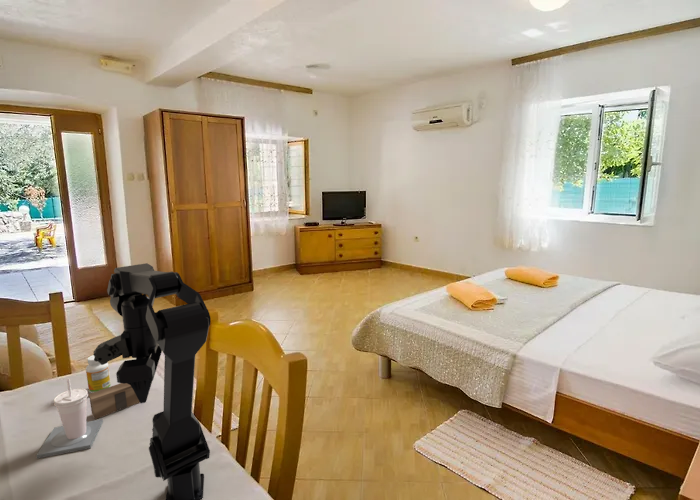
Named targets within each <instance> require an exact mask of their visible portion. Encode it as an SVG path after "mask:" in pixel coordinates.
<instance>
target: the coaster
mask: <svg viewBox="0 0 700 500" xmlns="http://www.w3.org/2000/svg"><path fill="white" fill-rule="evenodd" d="M103 424H104V420H103V419H102V418H99V419H94V420H89V421H86V433H85V434H84V435H82V436H81V437H78V438H75V439H68V438H67V436H66V433H65V430H64V427H63V425H60V426H55V427H53V429H52V430H51V432H50V433H49V435H48V437H47V438H46V440H45V441H44V443H43V444H42V445H41V447H40V449H39V450H38V452H37V453H36V459H41V458H48V457H51V456H52V457H53V456H57V455H62V454H68V453H73V452H74V453H75V452H77V451H78V452H79V451H84V450H89V449H92V446H93V445H94V442H95V440H96V438H97V436H98V433H99V432H100V429H101V428H102V425H103Z"/></svg>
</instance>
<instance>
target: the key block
mask: <svg viewBox="0 0 700 500" xmlns="http://www.w3.org/2000/svg"><path fill="white" fill-rule="evenodd" d="M87 398H88V399H89V403H90V410H91V415H92V418H93V419H94V420H99V419H101V418H103V417H105V416H107V415H111V414H113V413H115V412H119V411H122V410H124V409H126V408H129V407H131V406H135V405H137V404H141V403H140V402H139V400H138V398H137V396H136V394H135V392H134V390H133V388H132V387H131V385H129V384H127V383H126V384H123V383H117V384H114V385H111V387H108V388H105V389H102V390H99V391H96V392H93V393H91V392H89V394H88V397H87Z"/></svg>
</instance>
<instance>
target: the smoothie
mask: <svg viewBox="0 0 700 500" xmlns="http://www.w3.org/2000/svg"><path fill="white" fill-rule="evenodd" d="M66 384H67V390H66V391H63V392H60V393H59V394H58V395H56V397H54V399H53V405H54V407H56V409H57V413H58V415H59V418H60V421H61V424H62V426H63V427H64V430H65V433H66V436H67V438H68V439H75V438H78V437H81V436H82V435H84V434H85V433H86V422H87V404H88V402H87V400H88V399H87V398H89V397H88V390H87V389H85V388H72V387H71V386H72V384H71V379H70V378H66Z"/></svg>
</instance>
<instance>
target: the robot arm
mask: <svg viewBox="0 0 700 500" xmlns="http://www.w3.org/2000/svg"><path fill="white" fill-rule="evenodd" d="M113 272H114V273H111V275H110V279H109V281H108V285H107V289H106V292H107V294H108V296H110V300H109V303H110V307H111V308H112V309H113V310H114V311H115V312H116V313H117V314H118V315H119V316H121V317H122V326H123V332H122V333H121V334H119V335H117V336H115V337H112V338H110V339H108V340H106V341H103V342H101V343H100V344H99V343H98V345H97V346H96V348H95V349H94V350H93V354H92V355H94V357H95V358H94V361H96V362H97V361H98V362H99V363H100V364H101V365H104V364H106V363H109V362H110V361H113V360H114V359H117V358H120V357H121V356H122V359H126V360H124V361H123V362H122V363H121V365H119V368H118V369H117V371H116V373H115V374H116V375H115V376H116V383H117V384H120V383H123V384H126V383H127V384H129V385H131V387H132V388H133V390H134V392H135V394H136V396H137V398H138V400H139V402H140V403H139V404H145V403H147V400H148V396H149V394H150V393H149V392H150V389H151V387H152V384H153V381H154V379H155V374H156V372H157V368H158V365H159V362H160V358H161V356H162V353H163V355H164V370H163V371H164V373H163V376H164V377H163V378H164V379H163V411H160V412H158V413H155V414H154V415H153V417H152V429H151V430H152V431H151V432H152V437H150V439H149V446H148V451H149V454H150V458H151V459H150V460H151V462H152V466H153V472H154V477H155V478H160V479H162V481H163V482H164V481H166V480H167V482H166V483H167V488H166V490H167V491H166V495H165V500H200V499H202V498H203V499H204V486H205V474H204V473H201V467H200V466H201V465H200V463H201V462H203V461H205V460H207V459H210V455H211V450H210V447H209V445H208V443H207V440H206V437H205V434H204V432H203V429H202V428H203V427H202V426H201V424H200V421H199V420H198V419H197V418H196V416H195V414H194V413H193V396H194V381H195V380H194V379H195V366H196V365H195V364H196V363H195V362H196V354H197V353H199V351H200V350H201V348H202V347H203V346H204V345H205V343H206V342H207V339H208V335H209V329H210V326H211V324H212V323H211V322H212V321H211V315H210V312H209V309H208V308H207V307H208V306H206V303H205V302H204V300H203V297H202V295H201V294H200V293H199V292H198V291H197V290H195V289H193V288H192V287H191V286H189V285H187V284H186V283H185V282H184V281H183V279H182V277H181V275H180V273H178V272H176V271H161V270H160V271H159V270H158V271H157V270H155V269H154V266H153V265H151V264H149V263H148V262H147V263H139V264H134V265H133V264H132V265H126V266H119V267H115V268H114V270H113ZM172 295H176V297H177V298H178V299H180V300H182V301H183V302H184V303H185V304H181V305H176V306H171V307H168V308H167V307H166V308H164V309H163V308H162V309H159V310H158V311H156V312H155V310H154V307H153V306H154V304H155V303H154V302H155V299H158V298H162V297H166V296H167V297H168V296H172ZM130 357H131V358H132V359H129V358H130ZM127 359H128V360H127ZM203 499H202V500H203Z"/></svg>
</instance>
